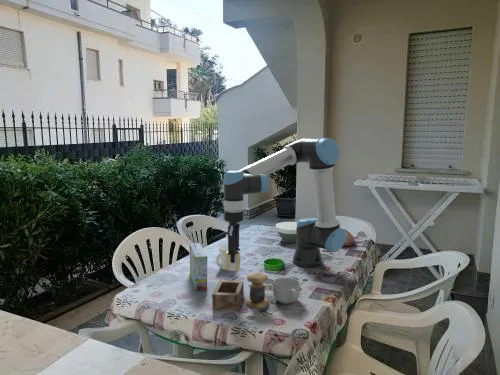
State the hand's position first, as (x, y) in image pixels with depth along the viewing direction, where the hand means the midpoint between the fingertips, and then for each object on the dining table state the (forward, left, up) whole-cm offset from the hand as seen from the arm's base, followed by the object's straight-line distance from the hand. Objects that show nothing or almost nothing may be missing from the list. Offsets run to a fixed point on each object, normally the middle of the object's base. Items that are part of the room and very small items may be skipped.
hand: (233, 268), depth 145 cm
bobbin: (-10, +2, -13) cm, 16 cm away
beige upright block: (0, 0, 0) cm, 1 cm away
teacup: (-21, 0, -13) cm, 25 cm away
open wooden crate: (+2, +2, -13) cm, 14 cm away
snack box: (+19, -17, -14) cm, 29 cm away
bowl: (-22, -86, -13) cm, 90 cm away
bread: (-51, -83, -14) cm, 98 cm away
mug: (+10, -34, -13) cm, 38 cm away
